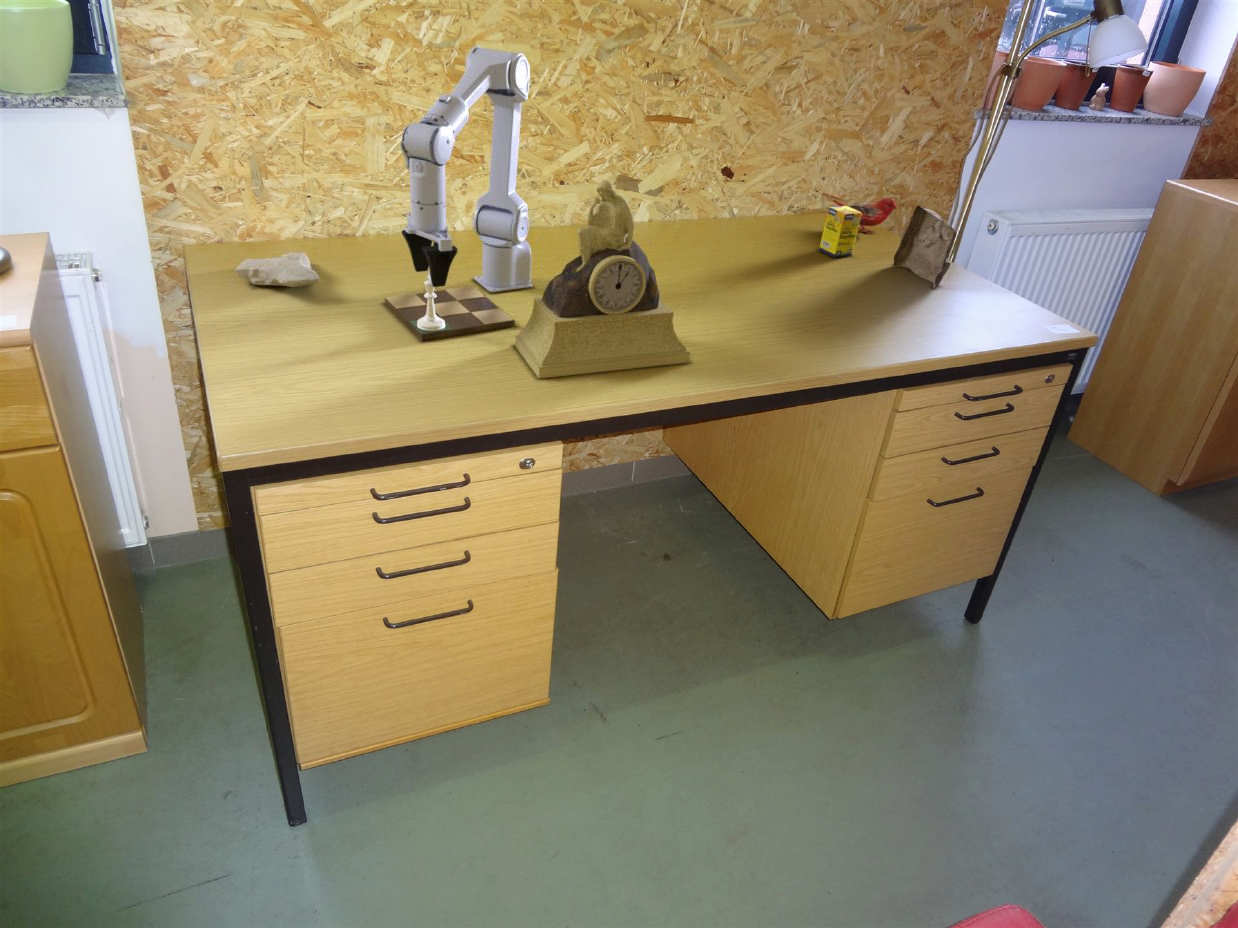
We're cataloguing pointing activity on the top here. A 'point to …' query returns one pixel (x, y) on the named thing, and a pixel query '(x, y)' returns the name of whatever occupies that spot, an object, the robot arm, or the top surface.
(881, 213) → the decorative bird figurine
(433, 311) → the chess piece
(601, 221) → the decorative clock
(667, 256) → the top surface
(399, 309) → the game board
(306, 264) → the rock
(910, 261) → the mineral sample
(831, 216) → the supplement box
